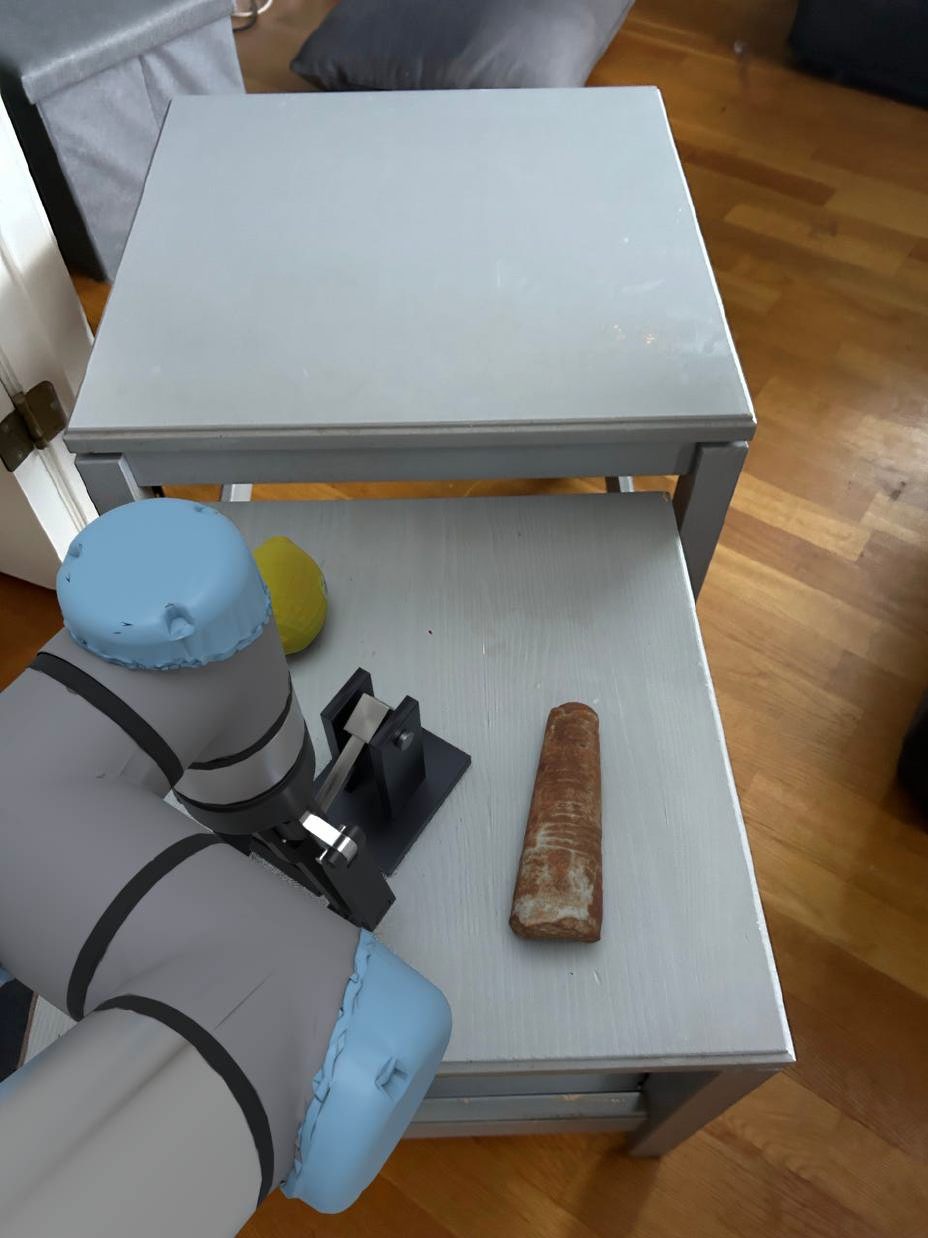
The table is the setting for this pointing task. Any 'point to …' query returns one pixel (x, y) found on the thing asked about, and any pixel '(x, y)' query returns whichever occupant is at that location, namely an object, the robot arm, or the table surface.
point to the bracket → (389, 774)
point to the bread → (563, 835)
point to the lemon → (293, 591)
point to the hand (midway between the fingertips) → (299, 886)
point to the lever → (336, 777)
